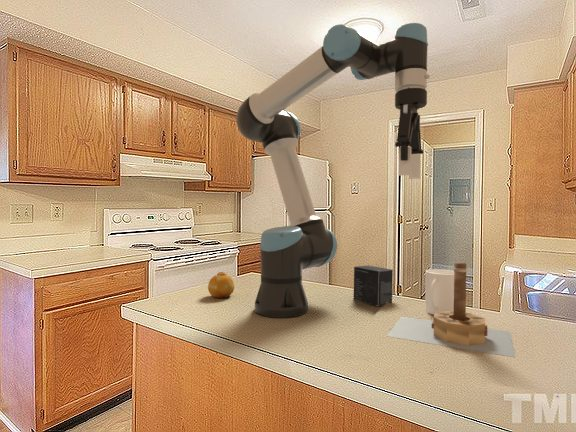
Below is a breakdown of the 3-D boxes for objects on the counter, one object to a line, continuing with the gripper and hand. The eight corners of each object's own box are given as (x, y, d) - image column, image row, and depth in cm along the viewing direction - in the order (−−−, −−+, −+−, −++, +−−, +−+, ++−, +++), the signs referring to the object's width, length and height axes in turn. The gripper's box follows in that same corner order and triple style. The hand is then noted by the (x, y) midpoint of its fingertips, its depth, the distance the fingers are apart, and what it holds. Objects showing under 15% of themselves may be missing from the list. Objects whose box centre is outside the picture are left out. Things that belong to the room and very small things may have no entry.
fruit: (224, 284, 128) (216, 266, 124) (242, 289, 123) (234, 271, 119) (208, 301, 123) (199, 282, 119) (226, 307, 118) (217, 288, 114)
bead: (429, 339, 79) (430, 320, 79) (435, 325, 88) (435, 308, 88) (487, 348, 74) (487, 328, 74) (487, 332, 83) (487, 315, 83)
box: (393, 303, 112) (393, 269, 112) (378, 307, 109) (378, 271, 108) (367, 296, 121) (367, 264, 121) (352, 299, 117) (352, 266, 117)
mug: (444, 326, 91) (445, 277, 91) (412, 318, 98) (412, 273, 97) (464, 316, 99) (464, 271, 99) (433, 309, 106) (433, 267, 105)
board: (386, 341, 81) (386, 336, 81) (401, 321, 95) (401, 316, 95) (514, 363, 70) (515, 357, 70) (509, 336, 84) (510, 331, 84)
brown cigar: (452, 336, 81) (453, 263, 80) (453, 333, 83) (454, 261, 82) (465, 338, 79) (466, 264, 79) (465, 335, 82) (466, 262, 81)
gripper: (418, 72, 79) (417, 172, 80) (433, 101, 101) (432, 179, 102) (383, 78, 83) (382, 174, 83) (404, 104, 105) (404, 180, 105)
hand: (410, 177), depth 93 cm, fingers open, 13 cm apart
